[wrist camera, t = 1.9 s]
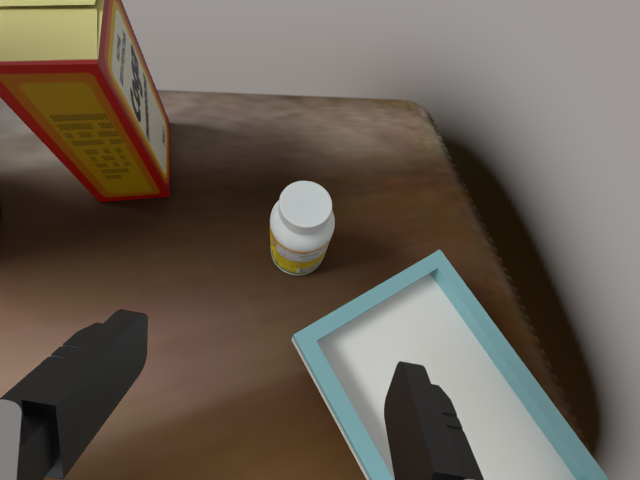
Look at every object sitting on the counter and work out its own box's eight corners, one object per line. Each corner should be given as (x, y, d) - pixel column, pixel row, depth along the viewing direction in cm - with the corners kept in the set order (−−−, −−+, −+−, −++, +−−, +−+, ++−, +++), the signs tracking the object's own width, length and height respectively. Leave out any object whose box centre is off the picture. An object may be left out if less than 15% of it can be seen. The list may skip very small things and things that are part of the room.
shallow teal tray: (289, 344, 30) (293, 334, 24) (411, 272, 35) (439, 249, 29) (422, 593, 25) (468, 658, 19) (548, 471, 29) (619, 493, 23)
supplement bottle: (310, 285, 33) (324, 249, 24) (260, 262, 33) (255, 217, 24) (332, 239, 35) (352, 190, 26) (285, 217, 35) (288, 162, 27)
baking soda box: (170, 196, 35) (94, 58, 20) (99, 202, 33) (-36, 59, 19) (169, 122, 38) (104, -41, 24) (105, 125, 37) (-4, -45, 22)
